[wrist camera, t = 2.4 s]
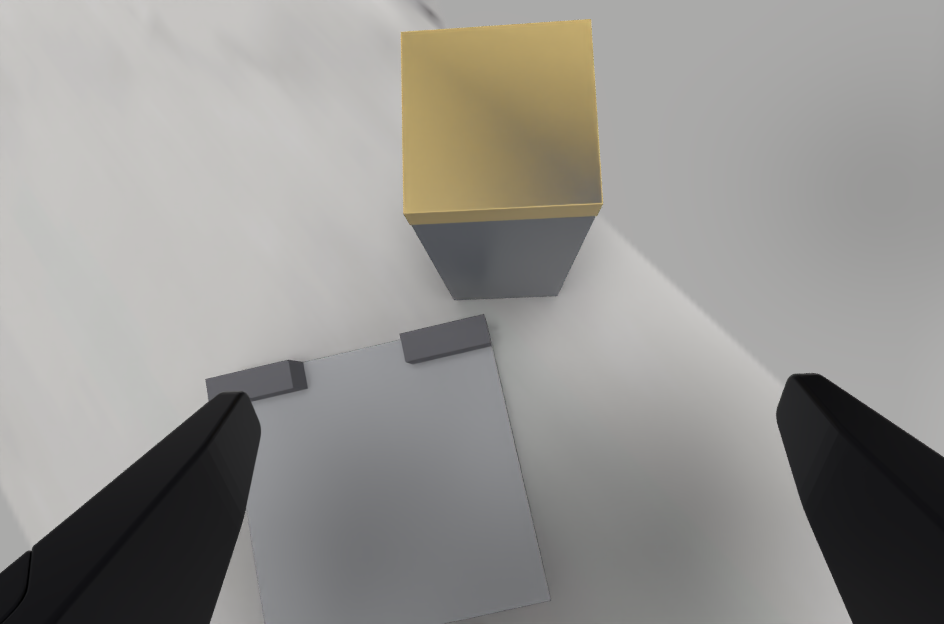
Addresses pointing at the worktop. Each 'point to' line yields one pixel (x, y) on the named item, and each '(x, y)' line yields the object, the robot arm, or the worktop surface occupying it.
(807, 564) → the worktop surface
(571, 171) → the grey block
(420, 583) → the pad
